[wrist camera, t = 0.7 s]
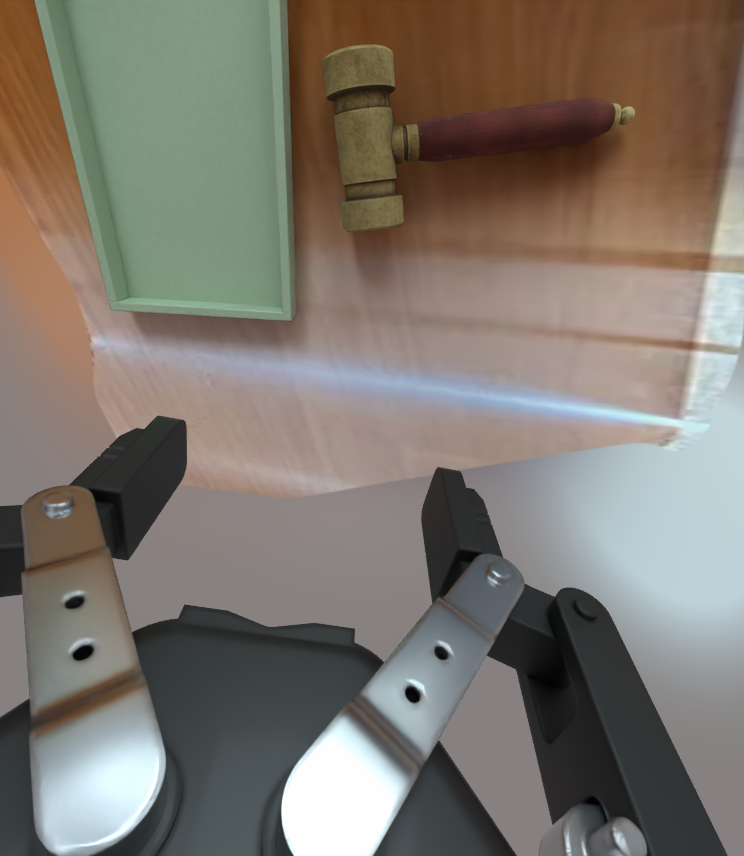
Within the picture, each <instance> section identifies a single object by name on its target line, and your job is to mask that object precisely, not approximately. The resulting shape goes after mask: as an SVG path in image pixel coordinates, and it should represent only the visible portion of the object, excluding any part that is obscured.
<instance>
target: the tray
mask: <svg viewBox="0 0 744 856" xmlns="http://www.w3.org/2000/svg"><path fill="white" fill-rule="evenodd" d="M34 1H35V5H36V9H37V13H38V17H39V21H40V25H41V29H42V33H43V37H44V41H45V45H46V49H47V53H48V58H49V62H50V66H51V70H52V74H53V78H54V82H55V86H56V90H57V94H58V98H59V102H60V106H61V110H62V114H63V118H64V122H65V126H66V130H67V134H68V138H69V142H70V146H71V151H72V155H73V159H74V163H75V167H76V171H77V175H78V179H79V183H80V187H81V191H82V195H83V199H84V203H85V207H86V211H87V215H88V219H89V223H90V227H91V231H92V235H93V240H94V244H95V248H96V252H97V256H98V260H99V264H100V268H101V272H102V276H103V280H104V284H105V288H106V292H107V296H108V300H109V304H110V308H111V310H115V311H131V312H148V313H164V314H181V315H197V316H214V317H230V318H247V319H263V320H280V321H292V319H293V318H294V316H295V315H296V313H297V312H296V279H295V246H294V214H293V181H292V148H291V116H290V83H289V50H288V18H287V0H34Z"/></svg>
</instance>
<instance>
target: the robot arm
mask: <svg viewBox="0 0 744 856" xmlns="http://www.w3.org/2000/svg"><path fill="white" fill-rule="evenodd" d="M186 465H187V429H186V422H185V421H184V420H180V419H175V418H169V417H164V416H157V417H156V418H155V419H154V420H153V421H152V422H151V423H150V424H149V425H148V426H147V427H146V428H145V429H139V428H136V429H134V430H131V431H129V432H127V433H125V434H123V435H121V436H119V437H118V438H117V439H116V440H115V441H114V442H113V443H112V444H111V445H110V447H109V448H107V449H106V450H105V451H104V452H103V453H102V454H101V456H100V457H98V458H97V459H96V460H95V461H94V462H93V463H91V464H90V465H89V467H87V468H86V469H85V470H84V471H83V472H82V473H81V474H80V475H79V476H78V477H77V478H76V479H75V480H74V481H73V482H72V483H71V484H70V485H66V486H57V487H52V488H49V489H46V490H43V491H40V492H38V493H36V494H34V495H33V496H32V497H30V498H29V499H28V500H27V501H26V502H25V503H24V504H23V505H16V506H0V597H5V596H13V595H21V594H22V595H23V610H24V624H25V638H26V653H27V668H28V682H29V696H30V698H29V699H28V700H26V701H24V702H23V703H21V704H20V705H18V706H17V707H15V708H14V709H12V710H11V711H9V712H8V713H6V714H5V715H3V716H1V717H0V856H517V855H516V854H515V852H514V851H513V850H512V848H511V847H510V845H509V844H508V842H507V841H506V839H505V838H504V836H503V835H502V833H501V832H500V830H499V829H498V827H497V826H496V824H495V823H494V821H493V820H492V818H491V817H490V815H489V814H488V812H487V811H486V809H485V808H484V806H483V805H482V803H481V802H480V800H479V799H478V797H477V796H476V794H475V793H474V792H473V790H472V789H471V787H470V786H469V784H468V783H467V781H466V780H465V778H464V777H463V775H462V774H461V772H460V771H459V769H458V768H457V766H456V765H455V763H454V762H453V760H452V759H451V757H450V756H449V754H448V753H447V751H446V750H445V748H444V747H443V745H442V744H441V742H440V741H439V738H440V737H441V735H442V733H443V731H444V729H445V728H446V726H447V724H448V722H449V720H450V719H451V717H452V715H453V714H454V712H455V710H456V708H457V707H458V704H459V703H460V701H461V699H462V698H463V696H464V694H465V692H466V691H467V689H468V687H469V686H470V684H471V682H472V680H473V678H474V677H475V675H476V673H477V671H478V670H479V668H480V666H481V664H482V663H483V661H484V659H485V657H486V656H489V657H491V658H493V659H495V660H497V661H499V662H502V663H504V664H506V665H508V666H510V667H512V668H514V669H516V671H517V675H518V679H519V683H520V688H521V692H522V696H523V701H524V705H525V709H526V713H527V718H528V722H529V726H530V730H531V735H532V739H533V743H534V748H535V752H536V756H537V760H538V765H539V769H540V773H541V778H542V782H543V786H544V790H545V795H546V799H547V803H548V807H549V811H550V816H551V820H552V826H551V827H550V828H549V829H548V830H547V831H546V832H545V834H544V835H543V837H542V840H541V842H540V847H539V856H727V854H726V852H725V849H724V847H723V845H722V843H721V841H720V839H719V837H718V835H717V833H716V831H715V829H714V827H713V825H712V823H711V821H710V819H709V817H708V815H707V813H706V811H705V808H704V806H703V805H702V802H701V800H700V798H699V797H698V794H697V792H696V790H695V788H694V786H693V784H692V782H691V780H690V778H689V776H688V774H687V772H686V770H685V767H684V765H683V763H682V762H681V759H680V757H679V755H678V753H677V751H676V749H675V747H674V745H673V743H672V741H671V739H670V737H669V735H668V733H667V731H666V729H665V727H664V725H663V723H662V721H661V718H660V716H659V714H658V712H657V710H656V708H655V706H654V704H653V702H652V700H651V698H650V696H649V694H648V692H647V690H646V688H645V686H644V684H643V682H642V679H641V678H640V675H639V673H638V671H637V670H636V667H635V665H634V663H633V661H632V659H631V657H630V655H629V653H628V651H627V649H626V647H625V645H624V643H623V640H622V638H621V637H620V634H619V632H618V630H617V628H616V626H615V624H614V622H613V620H612V618H611V616H610V614H609V612H608V611H607V610H606V608H605V607H604V606H603V605H602V604H601V603H600V602H599V601H598V600H597V599H595V598H594V597H593V596H591V595H590V594H588V593H586V592H584V591H582V590H579V589H576V588H563V589H561V590H560V591H559V592H558V593H557V595H556V596H555V597H553V596H551V595H549V594H546V593H544V592H541V591H539V590H537V589H535V588H532V587H530V586H528V585H527V584H525V583H524V580H523V577H522V575H521V573H520V572H519V570H518V569H517V568H516V567H515V566H514V565H513V564H512V563H511V562H509V561H508V560H506V559H504V558H503V556H502V553H501V550H500V547H499V544H498V541H497V539H496V536H495V533H494V530H493V527H492V525H491V521H490V518H489V515H487V509H486V506H485V503H484V501H483V499H482V498H481V497H480V496H479V495H478V494H477V492H476V491H475V490H474V489H470V488H466V486H465V483H464V479H463V476H462V473H461V472H460V471H456V470H450V469H445V468H440V467H438V468H437V469H436V471H435V473H434V476H433V478H432V481H431V484H430V487H429V490H428V493H427V495H426V498H425V501H424V504H423V508H422V518H421V520H422V521H421V522H422V529H423V537H424V545H425V552H426V558H427V567H428V574H429V582H430V589H431V597H432V605H431V606H430V607H429V609H428V610H427V611H426V612H425V614H424V615H423V616H422V617H421V618H420V620H419V621H418V622H417V623H416V625H415V626H414V627H413V628H412V629H411V631H410V632H409V633H408V634H407V636H406V637H405V638H404V639H403V640H402V642H401V643H400V644H399V645H398V647H397V648H396V649H395V650H394V651H393V653H392V654H391V655H390V656H389V658H388V659H387V660H386V661H385V662H383V661H382V660H381V659H380V658H379V657H378V656H377V655H375V654H374V653H372V652H371V651H370V650H368V649H366V648H365V647H363V646H361V645H359V644H356V643H354V636H355V629H353V628H346V627H339V626H332V625H325V624H318V623H310V624H300V625H289V626H279V627H267V626H264V625H261V624H259V623H256V622H254V621H251V620H249V619H247V618H244V617H242V616H239V615H237V614H234V613H232V612H229V611H225V610H218V609H212V608H205V607H197V606H190V605H184V607H183V609H182V611H181V613H180V616H179V618H178V619H170V620H165V621H160V622H157V623H154V624H151V625H148V626H145V627H143V628H140V629H138V630H136V631H134V632H132V631H131V627H130V624H129V620H128V616H127V613H126V609H125V605H124V601H123V597H122V594H121V590H120V586H119V583H118V579H117V575H116V571H115V568H114V564H113V560H112V558H116V559H122V560H129V558H130V557H131V555H132V554H133V553H134V551H135V549H136V548H137V547H138V545H139V543H140V542H141V540H142V539H143V537H144V536H145V534H146V533H147V532H148V530H149V529H150V527H151V525H152V524H153V523H154V521H155V520H156V518H157V516H158V515H159V514H160V512H161V511H162V509H163V508H164V506H165V505H166V503H167V502H168V500H169V499H170V497H171V496H172V494H173V493H174V491H175V490H176V488H177V487H178V485H179V484H180V482H181V481H182V479H183V476H184V474H185V470H186Z"/></svg>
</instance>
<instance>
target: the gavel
mask: <svg viewBox="0 0 744 856" xmlns="http://www.w3.org/2000/svg"><path fill="white" fill-rule="evenodd" d="M322 68H323V76H324V84H325V91H326V98H327V100H329V101H334V106H335V114H336V116H334V125H335V133H336V140H337V148H338V156H339V164H340V172H341V180H342V185H343V186H345V194H346V201H344V202H341V203H340V206H341V214H342V221H343V229H344V230H346V231H347V232H361V231H371V230H379V229H386V228H392V227H397V226H400V225H402V224H403V223H404V213H403V198H402V195H396V191H395V179H397V174H396V164H398V163H403V161H404V160H406V161H407V162H410V161H431V162H437V161H445V160H453V159H461V158H469V157H477V156H484V155H492V154H500V153H508V152H516V151H524V150H531V149H539V148H547V147H555V146H563V145H571V144H578V143H586V142H588V141H590V140H592V139H594V138H596V137H598V136H600V135H602V134H604V133H606V132H608V131H612V130H614V129H615V128H616V127H617V126H618V124H621V125H626V124H628V123H630V122H631V121H632V120H633V118H634V115H635V110H634V109H633V108H632V107H625V108H623V109H622V110H621V107H620V106H619V105H618V104H617V103H615V104H611V103H608V102H604V101H601V100H598V99H595V98H585V99H577V100H570V101H562V102H554V103H546V104H538V105H531V106H523V107H515V108H507V109H499V110H492V111H484V112H476V113H468V114H460V115H452V116H445V117H437V118H432V119H429V120H426V121H423V122H420V123H417V124H412V125H405V128H402V127H401V125H400V126H393V117H392V109H391V108H389V93H391V92H393V91H394V90H395V76H394V61H393V52H392V51H391V50H390V49H388V48H387V47H385V46H382V45H371V44H370V45H357V46H351V47H346V48H343V49H339V50H337V51H334V52H332V53H330V54H329V55H327V57H326V58H325V59H324V60H323V61H322Z"/></svg>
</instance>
